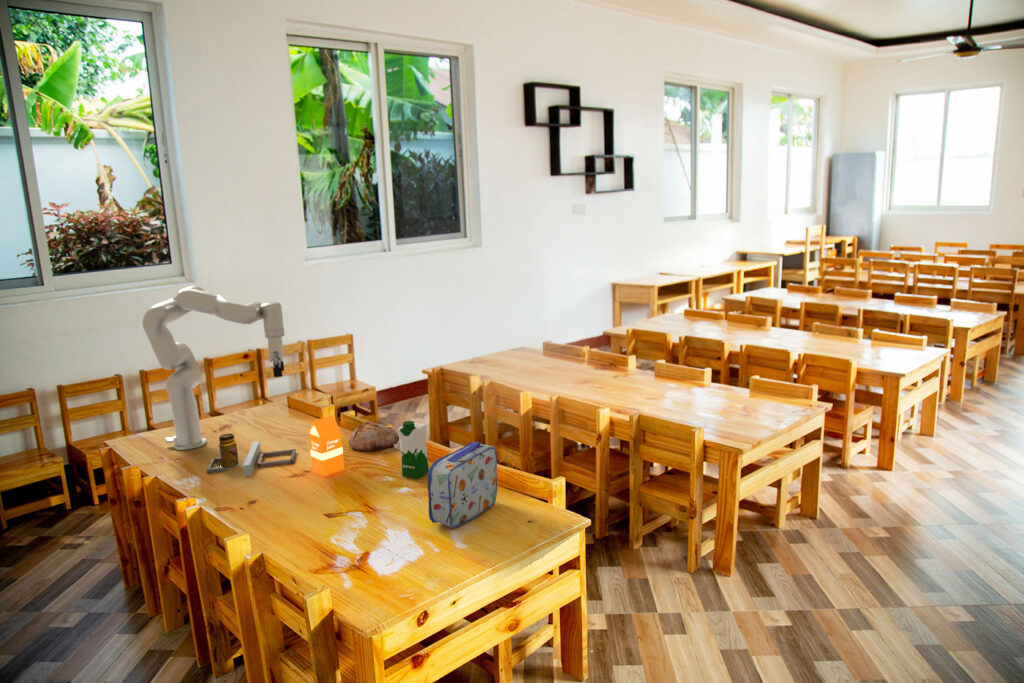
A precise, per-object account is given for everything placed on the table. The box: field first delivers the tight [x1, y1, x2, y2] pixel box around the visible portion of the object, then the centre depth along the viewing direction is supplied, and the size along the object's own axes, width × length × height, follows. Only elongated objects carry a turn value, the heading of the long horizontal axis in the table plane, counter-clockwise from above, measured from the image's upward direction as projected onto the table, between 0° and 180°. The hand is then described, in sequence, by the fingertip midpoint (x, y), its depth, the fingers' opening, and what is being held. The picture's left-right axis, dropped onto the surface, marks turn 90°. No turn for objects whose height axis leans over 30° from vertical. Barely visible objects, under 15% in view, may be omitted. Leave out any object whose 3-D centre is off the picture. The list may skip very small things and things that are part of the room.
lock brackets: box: [205, 448, 297, 474], centre depth 273 cm, size 31×12×2 cm, turn 102°
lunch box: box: [427, 441, 498, 529], centre depth 219 cm, size 28×10×22 cm, turn 148°
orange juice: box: [308, 415, 345, 477], centre depth 260 cm, size 8×9×20 cm
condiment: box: [214, 433, 242, 470], centre depth 270 cm, size 7×8×12 cm
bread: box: [348, 421, 400, 452], centre depth 286 cm, size 16×20×10 cm
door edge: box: [242, 440, 262, 477], centre depth 273 cm, size 2×26×4 cm, turn 12°
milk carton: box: [396, 420, 430, 480], centre depth 253 cm, size 9×9×20 cm
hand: (279, 373), depth 292 cm, fingers open, 9 cm apart
